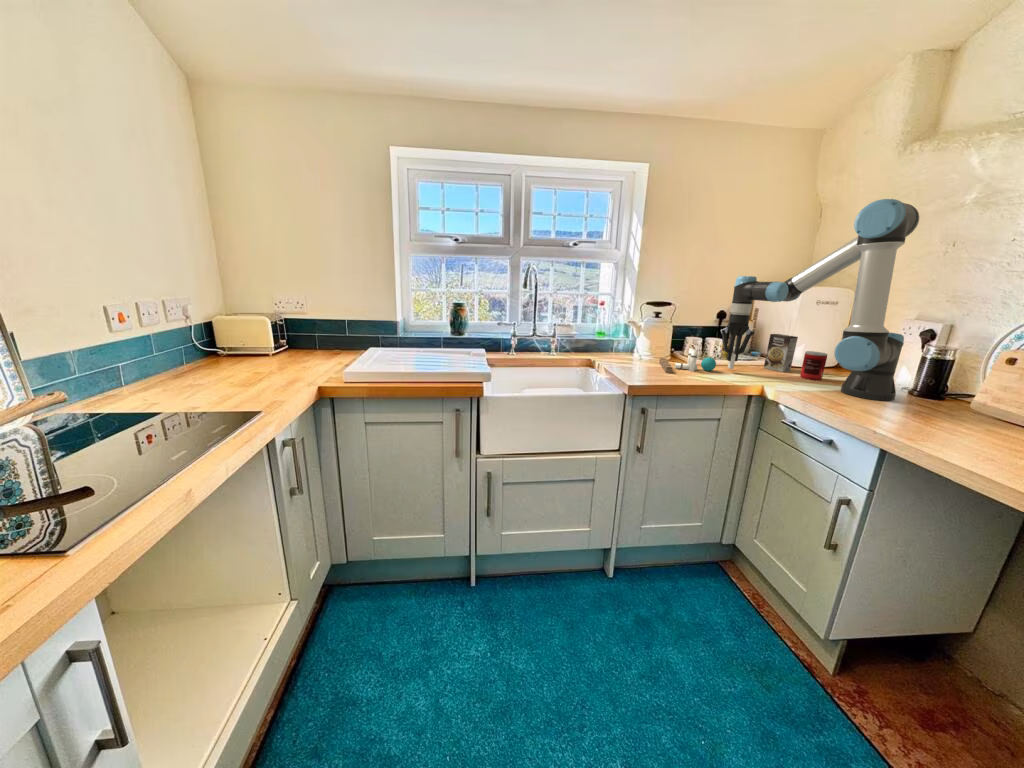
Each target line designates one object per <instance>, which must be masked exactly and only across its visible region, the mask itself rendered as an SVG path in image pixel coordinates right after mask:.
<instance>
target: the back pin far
mask: <svg viewBox="0 0 1024 768" xmlns="http://www.w3.org/2000/svg"><path fill="white" fill-rule="evenodd" d="M692 350H696V348H692V347H691V348H689V350H688V354H687V355H688V357H687V362H686V364H690V359H691V352H692Z"/></svg>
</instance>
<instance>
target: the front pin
mask: <svg viewBox="0 0 1024 768" xmlns="http://www.w3.org/2000/svg"><path fill="white" fill-rule="evenodd" d="M689 366H690V364H687V363H681V362H680V363H679V362H675V363H674V369H679V370H688V371H689ZM697 370H698V364H696V366H695V371H697Z"/></svg>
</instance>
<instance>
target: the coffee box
mask: <svg viewBox="0 0 1024 768" xmlns="http://www.w3.org/2000/svg"><path fill="white" fill-rule="evenodd" d="M798 338H799V337H798V336H796V335H788V334H781V333H771V334H769V339H768V345H767V348H766V349H767V350H766V354H765V358H764V365H763V369H765V370H766V369H767V370H770V371H775V372H778V373H789V372H791V370H792V364H793V360H794V356H795V351H796V346H797V342H798V340H799V339H798Z"/></svg>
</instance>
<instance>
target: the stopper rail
mask: <svg viewBox="0 0 1024 768" xmlns="http://www.w3.org/2000/svg"><path fill="white" fill-rule="evenodd" d="M658 364H660V366H661V368H662V369H663V371H664V373H666V374H673V366H672V365H671V363H669V361H668V360H667V358H665V357H660V358H659V363H658Z"/></svg>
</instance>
